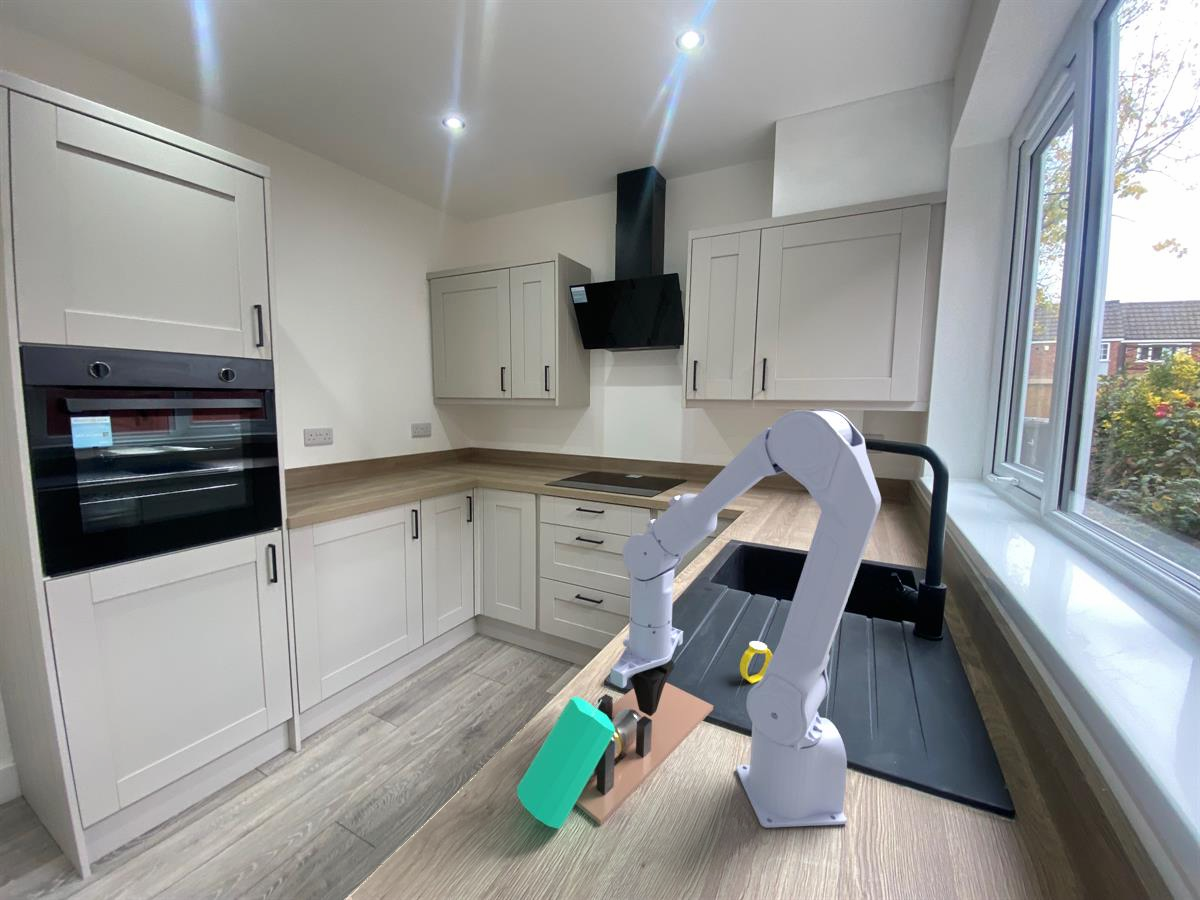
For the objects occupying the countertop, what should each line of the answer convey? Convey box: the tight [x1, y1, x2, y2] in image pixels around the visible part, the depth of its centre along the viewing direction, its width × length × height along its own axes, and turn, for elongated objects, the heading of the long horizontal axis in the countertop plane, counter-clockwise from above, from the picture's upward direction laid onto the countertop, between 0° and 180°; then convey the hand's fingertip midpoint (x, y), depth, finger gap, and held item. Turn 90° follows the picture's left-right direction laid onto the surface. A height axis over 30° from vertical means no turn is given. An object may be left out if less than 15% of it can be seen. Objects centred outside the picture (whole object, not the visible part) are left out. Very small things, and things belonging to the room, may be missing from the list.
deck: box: [574, 681, 714, 826], centre depth 62 cm, size 25×11×1 cm, turn 139°
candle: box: [516, 696, 615, 830], centre depth 51 cm, size 6×6×12 cm
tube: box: [588, 708, 641, 781], centre depth 58 cm, size 12×4×4 cm, turn 142°
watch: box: [739, 640, 773, 684], centre depth 75 cm, size 6×3×6 cm, turn 117°
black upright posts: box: [557, 693, 652, 796], centre depth 57 cm, size 9×8×6 cm
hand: (647, 710), depth 64 cm, fingers closed
